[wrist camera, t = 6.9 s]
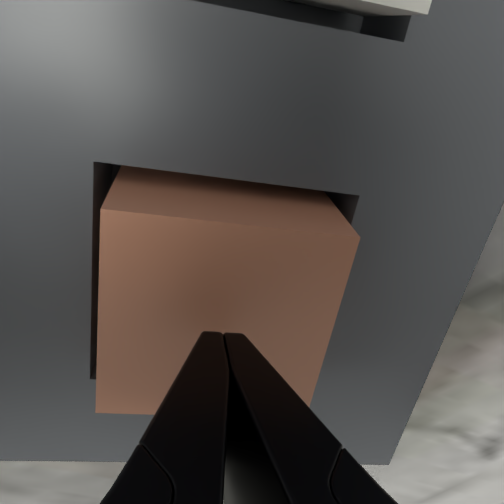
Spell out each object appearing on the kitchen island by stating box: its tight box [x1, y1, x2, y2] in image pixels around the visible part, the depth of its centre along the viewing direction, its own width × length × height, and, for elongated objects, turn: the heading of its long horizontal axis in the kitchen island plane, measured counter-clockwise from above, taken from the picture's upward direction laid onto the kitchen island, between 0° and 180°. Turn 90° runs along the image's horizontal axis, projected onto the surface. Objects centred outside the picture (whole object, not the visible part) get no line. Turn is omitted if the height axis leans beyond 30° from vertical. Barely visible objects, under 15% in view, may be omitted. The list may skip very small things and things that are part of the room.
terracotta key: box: [95, 165, 360, 415], centre depth 11 cm, size 5×5×3 cm
